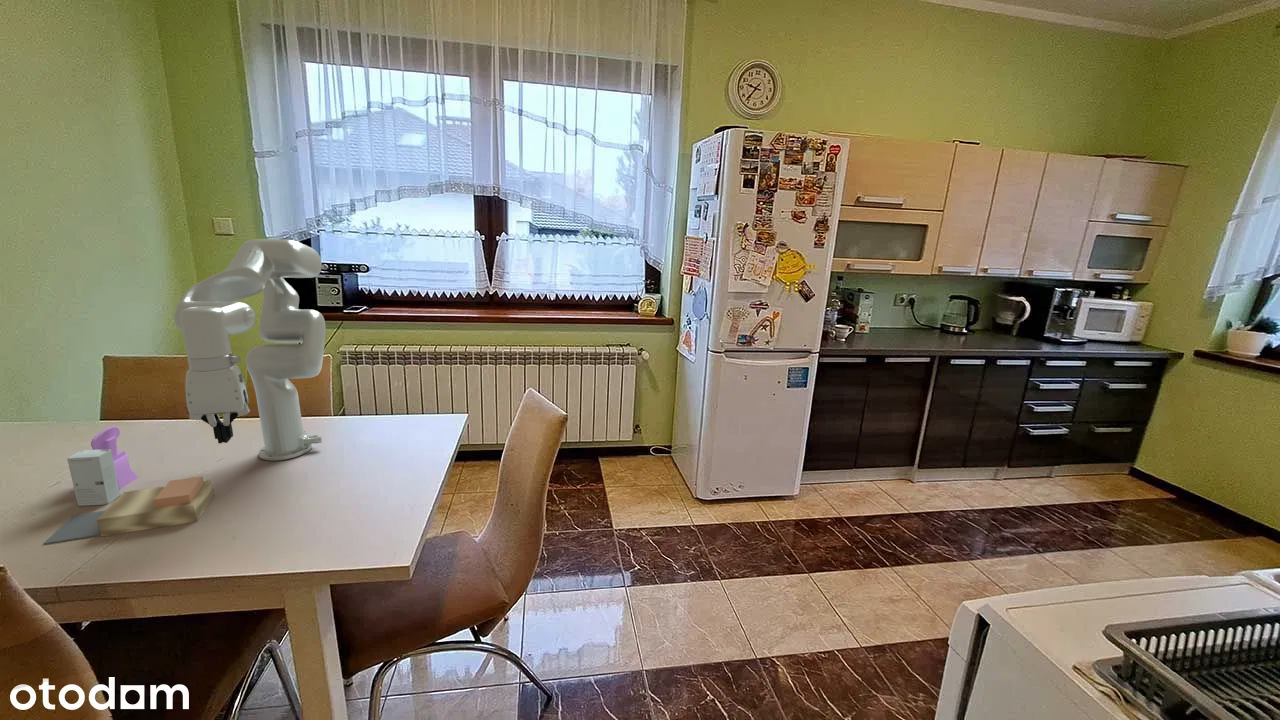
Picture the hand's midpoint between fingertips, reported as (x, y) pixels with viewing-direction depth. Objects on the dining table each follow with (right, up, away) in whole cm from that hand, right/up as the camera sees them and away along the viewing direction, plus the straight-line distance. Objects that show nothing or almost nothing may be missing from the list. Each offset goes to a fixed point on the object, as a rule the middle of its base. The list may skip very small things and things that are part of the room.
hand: (224, 440), depth 117 cm
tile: (-10, -12, 0) cm, 16 cm away
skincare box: (-32, -15, +4) cm, 36 cm away
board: (-14, -16, -1) cm, 21 cm away
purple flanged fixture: (-38, -13, +11) cm, 41 cm away
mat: (-25, -17, -6) cm, 31 cm away
